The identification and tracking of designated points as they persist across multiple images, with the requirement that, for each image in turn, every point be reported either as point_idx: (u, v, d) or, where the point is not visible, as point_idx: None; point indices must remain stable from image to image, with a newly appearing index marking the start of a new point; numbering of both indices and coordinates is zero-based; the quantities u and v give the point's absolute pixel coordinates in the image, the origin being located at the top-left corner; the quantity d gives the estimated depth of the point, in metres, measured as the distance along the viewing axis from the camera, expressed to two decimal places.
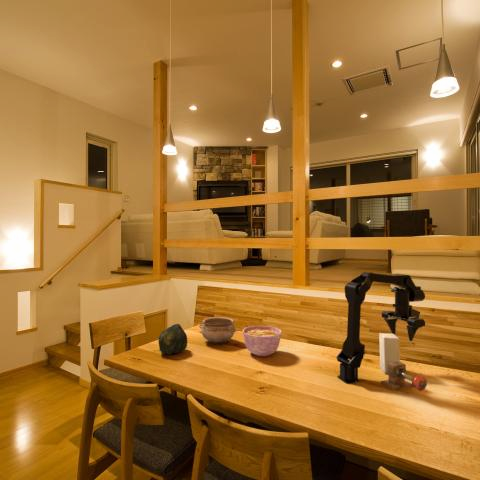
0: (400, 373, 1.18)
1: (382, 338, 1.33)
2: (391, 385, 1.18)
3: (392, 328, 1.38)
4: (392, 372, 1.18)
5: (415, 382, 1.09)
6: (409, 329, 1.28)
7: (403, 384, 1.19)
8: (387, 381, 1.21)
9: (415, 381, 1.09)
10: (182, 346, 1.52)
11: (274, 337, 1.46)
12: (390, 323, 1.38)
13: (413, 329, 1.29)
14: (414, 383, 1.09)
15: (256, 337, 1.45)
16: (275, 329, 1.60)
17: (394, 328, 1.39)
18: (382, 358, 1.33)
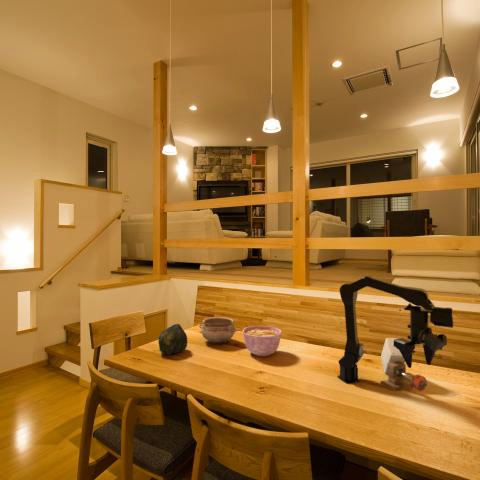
0: (400, 373, 1.18)
1: (389, 351, 1.23)
2: (391, 385, 1.18)
3: (426, 356, 1.13)
4: (392, 372, 1.18)
5: (415, 382, 1.09)
6: None
7: (403, 384, 1.19)
8: (387, 381, 1.21)
9: (415, 381, 1.09)
10: (182, 346, 1.52)
11: (274, 337, 1.46)
12: (425, 349, 1.14)
13: (407, 353, 1.09)
14: (414, 383, 1.09)
15: (256, 337, 1.45)
16: (275, 329, 1.60)
17: (429, 357, 1.12)
18: (385, 361, 1.29)
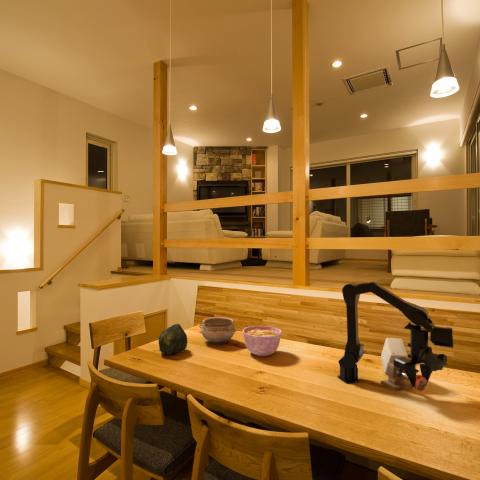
0: (400, 373, 1.18)
1: (389, 351, 1.23)
2: (391, 385, 1.18)
3: (423, 375, 1.12)
4: (392, 372, 1.18)
5: None
6: None
7: (403, 384, 1.19)
8: (387, 381, 1.21)
9: None
10: (182, 346, 1.52)
11: (274, 337, 1.46)
12: (421, 368, 1.13)
13: (411, 372, 1.09)
14: None
15: (256, 337, 1.45)
16: (275, 329, 1.60)
17: (425, 376, 1.11)
18: (385, 361, 1.29)
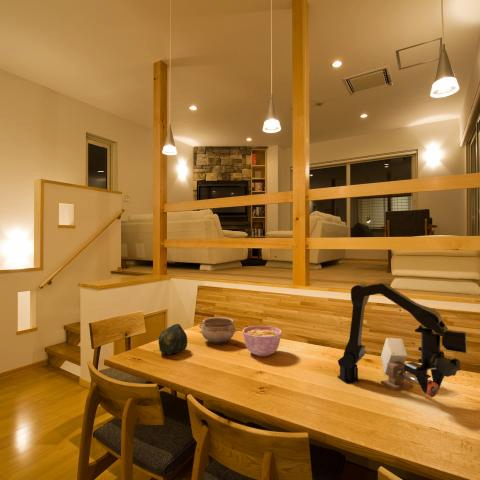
0: (410, 378, 1.13)
1: (389, 351, 1.23)
2: (391, 385, 1.18)
3: (434, 380, 1.08)
4: (392, 372, 1.18)
5: None
6: None
7: (403, 384, 1.19)
8: (387, 381, 1.21)
9: None
10: (182, 346, 1.52)
11: (274, 337, 1.46)
12: (432, 373, 1.09)
13: (422, 377, 1.05)
14: None
15: (256, 337, 1.45)
16: (275, 329, 1.60)
17: (437, 382, 1.07)
18: (385, 361, 1.29)
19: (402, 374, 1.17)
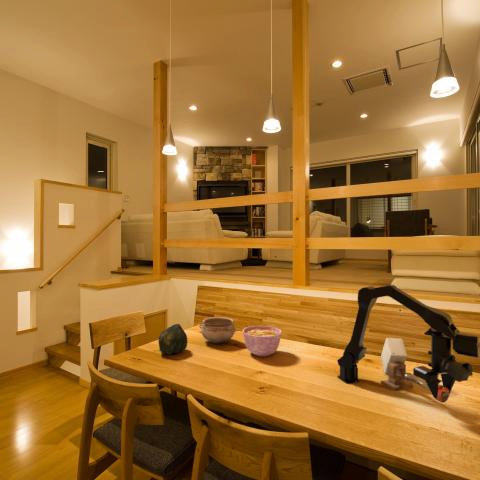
0: (419, 382, 1.10)
1: (389, 351, 1.23)
2: (391, 385, 1.18)
3: (444, 385, 1.04)
4: (392, 372, 1.18)
5: None
6: None
7: (403, 384, 1.19)
8: (387, 381, 1.21)
9: None
10: (182, 346, 1.52)
11: (274, 337, 1.46)
12: (443, 377, 1.05)
13: (432, 382, 1.01)
14: None
15: (256, 337, 1.45)
16: (275, 329, 1.60)
17: (447, 387, 1.03)
18: (385, 361, 1.29)
19: (411, 378, 1.13)
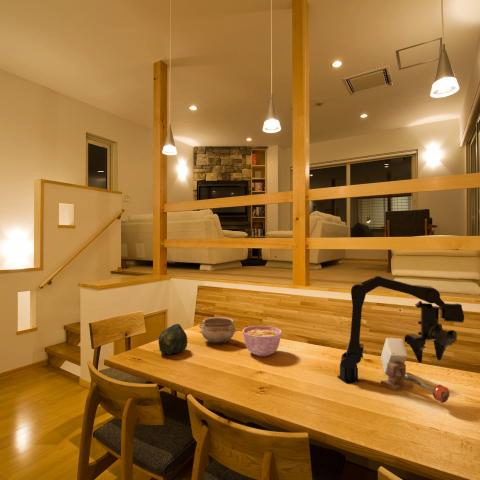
0: (419, 382, 1.10)
1: (389, 351, 1.23)
2: (391, 385, 1.18)
3: (437, 351, 1.17)
4: (392, 372, 1.18)
5: (436, 393, 1.01)
6: None
7: (403, 384, 1.19)
8: (387, 381, 1.21)
9: (437, 392, 1.01)
10: (182, 346, 1.52)
11: (274, 337, 1.46)
12: (435, 345, 1.18)
13: (417, 349, 1.13)
14: (436, 394, 1.01)
15: (256, 337, 1.45)
16: (275, 329, 1.60)
17: (439, 352, 1.16)
18: (385, 361, 1.29)
19: (411, 378, 1.13)
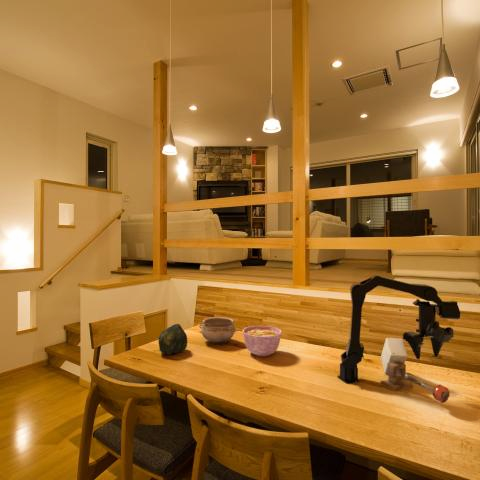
0: (419, 382, 1.10)
1: (389, 351, 1.23)
2: (391, 385, 1.18)
3: (434, 348, 1.20)
4: (392, 372, 1.18)
5: (436, 393, 1.01)
6: None
7: (403, 384, 1.19)
8: (387, 381, 1.21)
9: (437, 392, 1.01)
10: (182, 346, 1.52)
11: (274, 337, 1.46)
12: (432, 341, 1.21)
13: (415, 345, 1.16)
14: (436, 394, 1.01)
15: (256, 337, 1.45)
16: (275, 329, 1.60)
17: (436, 349, 1.19)
18: (385, 361, 1.29)
19: (411, 378, 1.13)
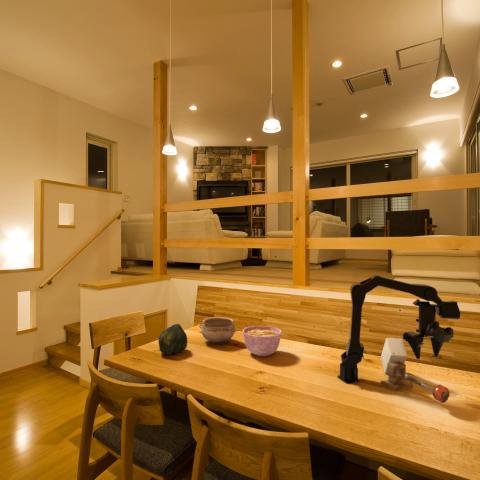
0: (419, 382, 1.10)
1: (389, 351, 1.23)
2: (391, 385, 1.18)
3: (434, 348, 1.20)
4: (392, 372, 1.18)
5: (436, 393, 1.01)
6: None
7: (403, 384, 1.19)
8: (387, 381, 1.21)
9: (437, 392, 1.01)
10: (182, 346, 1.52)
11: (274, 337, 1.46)
12: (432, 341, 1.21)
13: (415, 345, 1.16)
14: (436, 394, 1.01)
15: (256, 337, 1.45)
16: (275, 329, 1.60)
17: (436, 349, 1.19)
18: (385, 361, 1.29)
19: (411, 378, 1.13)
